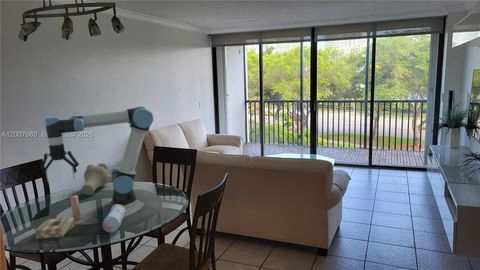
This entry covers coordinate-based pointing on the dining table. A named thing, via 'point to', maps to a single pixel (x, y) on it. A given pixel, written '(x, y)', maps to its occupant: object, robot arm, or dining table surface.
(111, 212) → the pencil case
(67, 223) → the socket block
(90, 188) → the vase
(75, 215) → the peg
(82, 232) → the dining table surface
